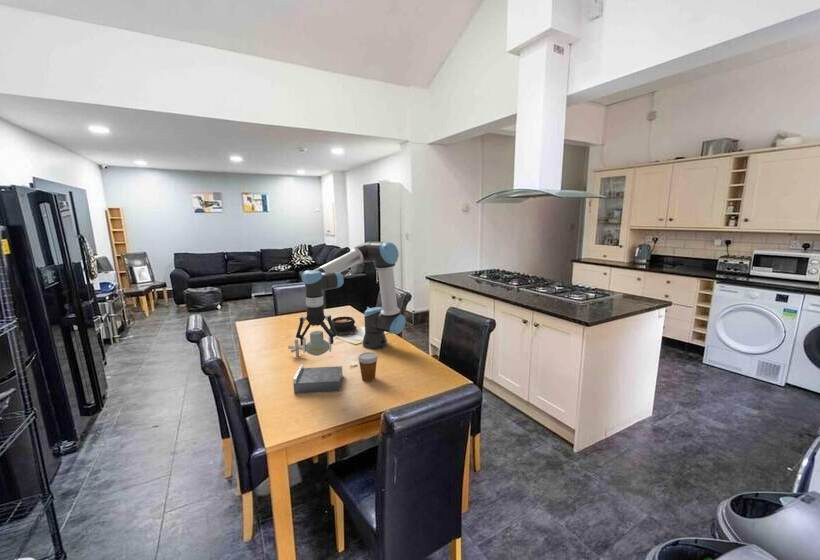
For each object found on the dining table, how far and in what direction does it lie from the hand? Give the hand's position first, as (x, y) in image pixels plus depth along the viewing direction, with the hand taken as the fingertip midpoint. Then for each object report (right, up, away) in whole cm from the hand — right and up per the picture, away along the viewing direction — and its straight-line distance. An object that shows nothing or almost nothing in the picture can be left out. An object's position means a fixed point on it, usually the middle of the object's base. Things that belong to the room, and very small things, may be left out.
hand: (317, 351), depth 162 cm
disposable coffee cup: (+23, -15, +8) cm, 29 cm away
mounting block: (0, -16, +3) cm, 17 cm away
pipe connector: (-21, -11, +37) cm, 44 cm away
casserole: (-3, -2, +80) cm, 80 cm away
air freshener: (0, -1, 0) cm, 1 cm away
